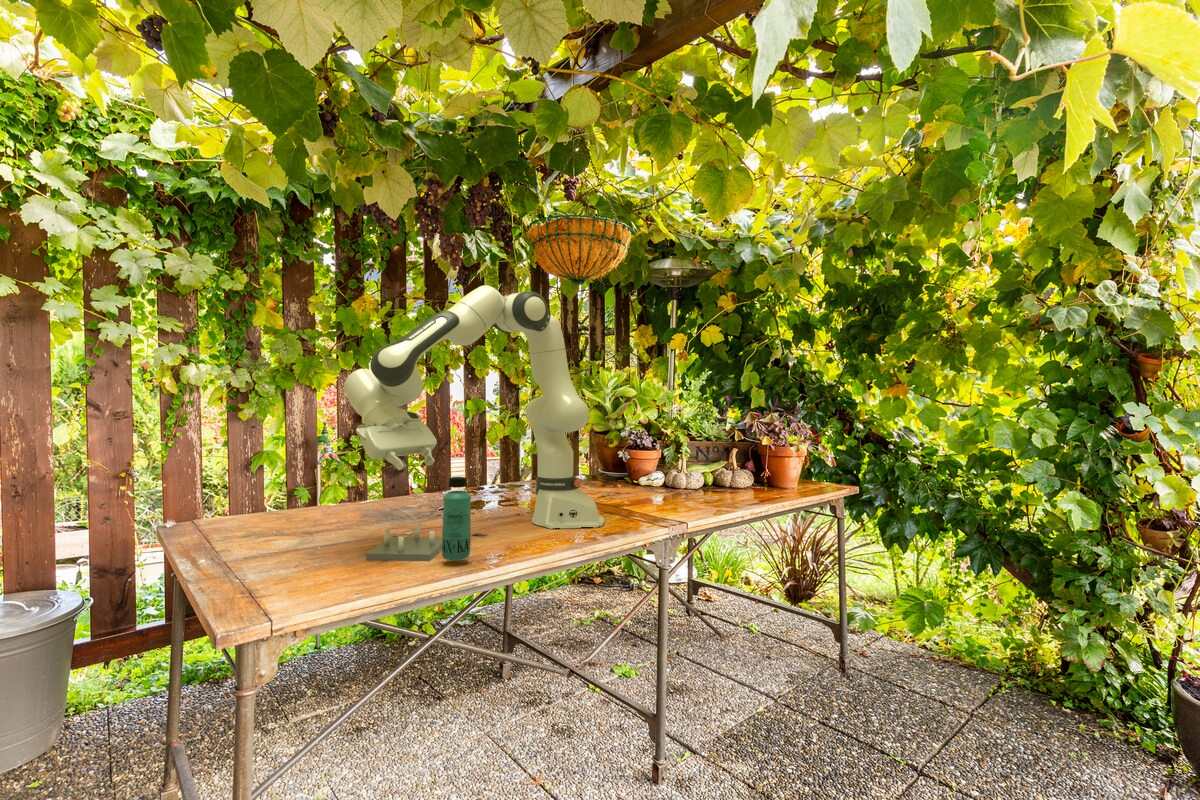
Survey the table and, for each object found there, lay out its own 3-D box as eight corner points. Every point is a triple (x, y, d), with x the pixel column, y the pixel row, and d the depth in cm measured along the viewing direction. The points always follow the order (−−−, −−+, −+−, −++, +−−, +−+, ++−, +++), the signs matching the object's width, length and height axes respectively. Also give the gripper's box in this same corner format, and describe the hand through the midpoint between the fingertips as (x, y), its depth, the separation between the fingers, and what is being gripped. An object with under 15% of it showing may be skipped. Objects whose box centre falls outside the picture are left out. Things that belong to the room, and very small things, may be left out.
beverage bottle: (439, 560, 130) (440, 475, 130) (467, 557, 133) (468, 474, 133) (443, 568, 124) (444, 479, 124) (473, 565, 127) (474, 478, 127)
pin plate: (448, 543, 145) (448, 524, 144) (429, 560, 130) (429, 539, 129) (390, 542, 145) (391, 523, 145) (366, 559, 130) (366, 538, 130)
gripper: (360, 416, 126) (391, 461, 122) (423, 413, 145) (452, 453, 141) (345, 435, 128) (376, 480, 124) (410, 430, 147) (438, 469, 143)
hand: (417, 465), depth 133 cm, fingers open, 8 cm apart
